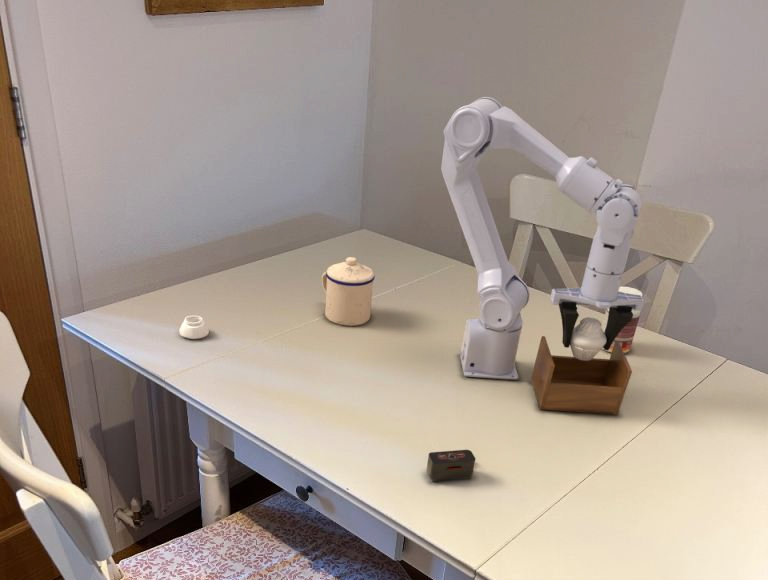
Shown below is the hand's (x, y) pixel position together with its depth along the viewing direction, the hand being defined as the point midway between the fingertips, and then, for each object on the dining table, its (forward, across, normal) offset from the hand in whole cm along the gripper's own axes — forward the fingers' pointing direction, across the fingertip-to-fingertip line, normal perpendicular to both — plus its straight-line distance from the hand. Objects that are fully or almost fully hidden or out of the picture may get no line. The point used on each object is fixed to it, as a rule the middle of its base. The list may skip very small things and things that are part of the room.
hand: (585, 346), depth 130 cm
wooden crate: (+8, -1, -3) cm, 8 cm away
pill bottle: (+9, +12, +18) cm, 23 cm away
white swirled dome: (+2, 0, 0) cm, 2 cm away
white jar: (+9, -66, +11) cm, 68 cm away
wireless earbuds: (+9, -24, -26) cm, 36 cm away
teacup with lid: (+9, -40, +24) cm, 48 cm away
